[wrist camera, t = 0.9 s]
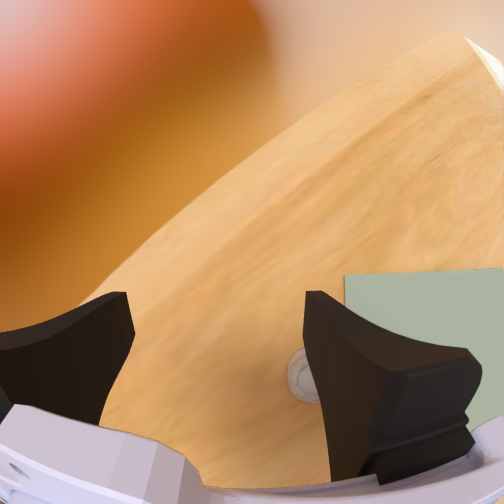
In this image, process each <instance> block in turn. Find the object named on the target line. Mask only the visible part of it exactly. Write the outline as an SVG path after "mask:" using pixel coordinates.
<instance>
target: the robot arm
mask: <svg viewBox="0 0 504 504" xmlns="http://www.w3.org/2000/svg"><path fill="white" fill-rule="evenodd" d="M134 337H135V330H134V326H133V322H132V317H131V313H130V308H129V304H128V299H127V294H126V292H110V293H107V294H105V295H102V296H100V297H98V298H96V299H94V300H92V301H90V302H87V303H85V304H83V305H81V306H79V307H77V308H75V309H73V310H71V311H69V312H66V313H64V314H62V315H60V316H58V317H55V318H53V319H50V320H48V321H45V322H42V323H39V324H36V325H33V326H29V327H26V328H21V329H17V330H13V331H7V332H1V333H0V500H1V501H2V502H3V503H5V504H494V503H495V502H496V501H498V500H499V499H500V498H501V497H502V496H503V495H504V417H503V416H502V415H499V416H497V417H495V418H493V419H491V420H489V421H487V422H485V423H482V424H480V425H479V426H477V427H476V428H474V429H473V430H472V431H471V432H469V430H468V429H467V427H466V425H467V424H468V423H469V418H468V416H467V415H466V413H465V411H466V409H467V407H468V406H469V404H470V402H471V401H472V399H473V397H474V395H475V393H476V392H477V390H478V387H479V385H480V383H481V379H482V373H483V370H482V365H481V364H480V363H479V362H478V360H477V359H476V358H475V357H474V356H473V354H472V353H471V352H470V351H469V350H468V349H467V348H462V347H452V346H444V345H437V344H432V343H428V342H423V341H419V340H415V339H412V338H409V337H406V336H402V335H399V334H397V333H394V332H391V331H389V330H387V329H384V328H382V327H380V326H378V325H376V324H374V323H372V322H370V321H368V320H366V319H364V318H363V317H361V316H359V315H358V314H356V313H354V312H353V311H351V310H350V309H348V308H347V307H345V306H344V305H342V304H341V303H339V302H338V301H336V300H335V299H334V298H332V297H331V296H329V295H328V294H326V293H325V292H323V291H306V297H305V311H304V325H303V341H304V347H305V353H306V357H307V361H308V364H309V367H310V370H311V373H312V377H313V380H314V383H315V386H316V389H317V393H318V396H319V399H320V403H321V407H322V413H323V419H324V425H325V431H326V438H327V445H328V454H329V463H330V473H331V482H330V483H323V484H315V485H306V486H296V487H283V488H260V489H235V488H219V487H214V486H208V485H203V483H202V480H201V478H200V475H199V472H198V470H197V469H196V468H195V467H194V466H193V465H192V464H191V463H190V462H189V461H188V459H187V458H186V457H185V456H184V455H183V454H182V453H180V452H178V451H176V450H174V449H172V448H170V447H169V446H167V445H165V444H163V443H161V442H159V441H158V440H154V439H150V438H147V437H143V436H140V435H137V434H134V433H130V432H125V431H120V430H115V429H110V428H106V427H101V426H98V425H99V421H100V418H101V414H102V411H103V408H104V405H105V402H106V399H107V397H108V394H109V392H110V390H111V388H112V386H113V384H114V382H115V380H116V378H117V376H118V374H119V372H120V370H121V368H122V366H123V364H124V362H125V360H126V358H127V356H128V354H129V352H130V349H131V346H132V343H133V340H134Z"/></svg>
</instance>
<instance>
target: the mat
mask: <svg viewBox="0 0 504 504" xmlns="http://www.w3.org/2000/svg"><path fill="white" fill-rule="evenodd" d="M344 290H345V307H347V308H348V309H350V310H351V311H353V312H354V313H356V314H358V315H359V316H361V317H363V318H364V319H366V320H368V321H370V322H372V323H374V324H376V325H378V326H380V327H382V328H384V329H387V330H389V331H391V332H394V333H397V334H399V335H402V336H406V337H409V338H412V339H415V340H419V341H423V342H428V343H432V344H437V345H444V346H452V347H462V348H467V349H468V350H469V351H470V352H471V353H472V354H473V356H474V357H475V358H476V359H477V360H478V362H479V363H480V364H481V365H482V370H483V373H482V379H481V383H480V385H479V387H478V390H477V392H476V393H475V395H474V397H473V399H472V401H471V402H470V404H469V406H468V407H467V409H466V411H465V413H466V415H467V416H468V418H469V423H468V424H467V425H466V427H467V429H468V430H469V432H471V431H472V430H473V429H474V428H476V427H477V426H479V425H480V424H482V423H485V422H487V421H489V420H491V419H493V418H495V417H497V416H499V415H502V416H503V417H504V273H503V268H490V269H473V270H456V271H436V272H414V273H388V274H357V275H344Z"/></svg>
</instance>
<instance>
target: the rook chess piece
mask: <svg viewBox="0 0 504 504" xmlns="http://www.w3.org/2000/svg"><path fill="white" fill-rule="evenodd" d="M287 374H288V375H287V377H288V387H289V389H290V391H291V393H292V395H293V396H295V397H296V398H297V399H298V400H299V401H301V402H304V403H308V404H319V403H320V399H319V396H318V393H317V389H316V386H315V383H314V380H313V377H312V373H311V370H310V367H309V364H308V361H307V357H306V353H305V347H303V348H301V349H299V350H297V352H296V353H295V354H294V355H293V356H292V357H291V359H290V362H289V364H288V367H287Z"/></svg>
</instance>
